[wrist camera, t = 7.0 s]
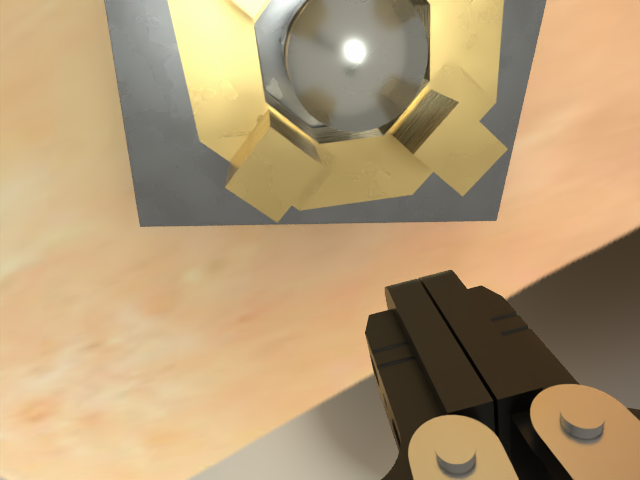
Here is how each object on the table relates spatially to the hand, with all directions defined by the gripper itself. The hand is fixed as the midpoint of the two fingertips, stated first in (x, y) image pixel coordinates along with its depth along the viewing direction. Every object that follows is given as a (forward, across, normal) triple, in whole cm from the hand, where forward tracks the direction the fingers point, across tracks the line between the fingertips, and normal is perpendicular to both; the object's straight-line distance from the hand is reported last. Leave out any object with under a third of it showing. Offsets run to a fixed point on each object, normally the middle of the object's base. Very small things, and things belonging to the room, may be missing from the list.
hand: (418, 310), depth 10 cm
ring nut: (+14, -1, -4) cm, 15 cm away
